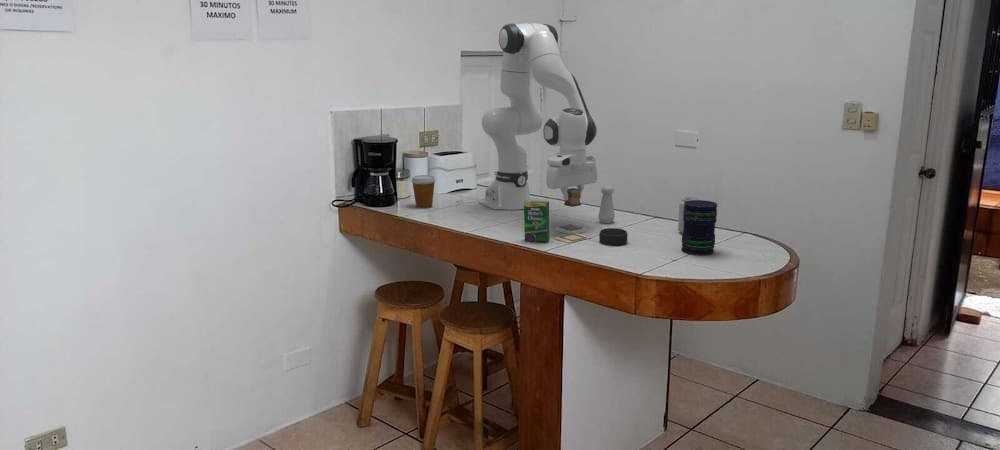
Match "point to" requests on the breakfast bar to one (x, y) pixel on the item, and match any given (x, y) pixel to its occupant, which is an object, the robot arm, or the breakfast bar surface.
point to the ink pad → (570, 229)
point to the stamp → (573, 197)
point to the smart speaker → (613, 236)
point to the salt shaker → (606, 206)
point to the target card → (572, 238)
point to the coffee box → (536, 221)
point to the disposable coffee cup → (423, 190)
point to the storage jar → (699, 227)
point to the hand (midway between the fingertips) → (572, 199)
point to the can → (681, 209)
